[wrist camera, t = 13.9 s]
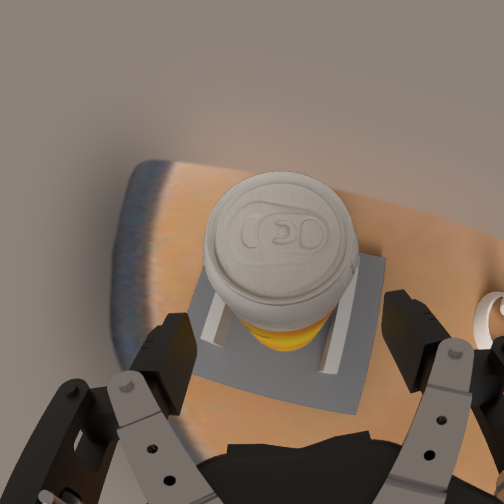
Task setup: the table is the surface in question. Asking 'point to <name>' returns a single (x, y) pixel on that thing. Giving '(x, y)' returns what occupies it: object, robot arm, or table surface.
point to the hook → (485, 319)
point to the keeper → (297, 361)
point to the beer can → (281, 255)
